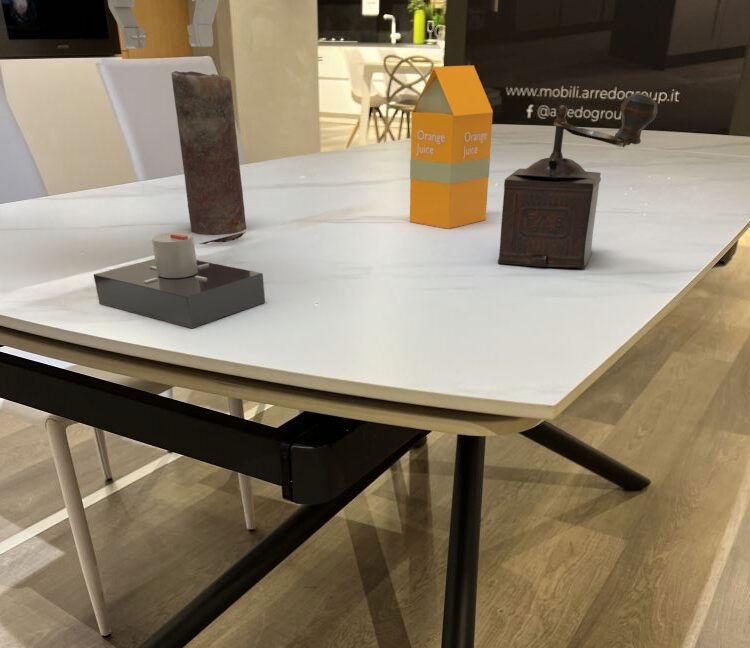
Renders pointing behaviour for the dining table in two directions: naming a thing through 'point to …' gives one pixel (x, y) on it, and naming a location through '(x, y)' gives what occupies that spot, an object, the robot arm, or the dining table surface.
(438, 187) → the orange juice
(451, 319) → the dining table surface
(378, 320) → the dining table surface
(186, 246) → the knob
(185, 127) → the rusty brown cylinder
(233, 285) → the dark grey flat block
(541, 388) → the dining table surface
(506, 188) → the manual coffee grinder
